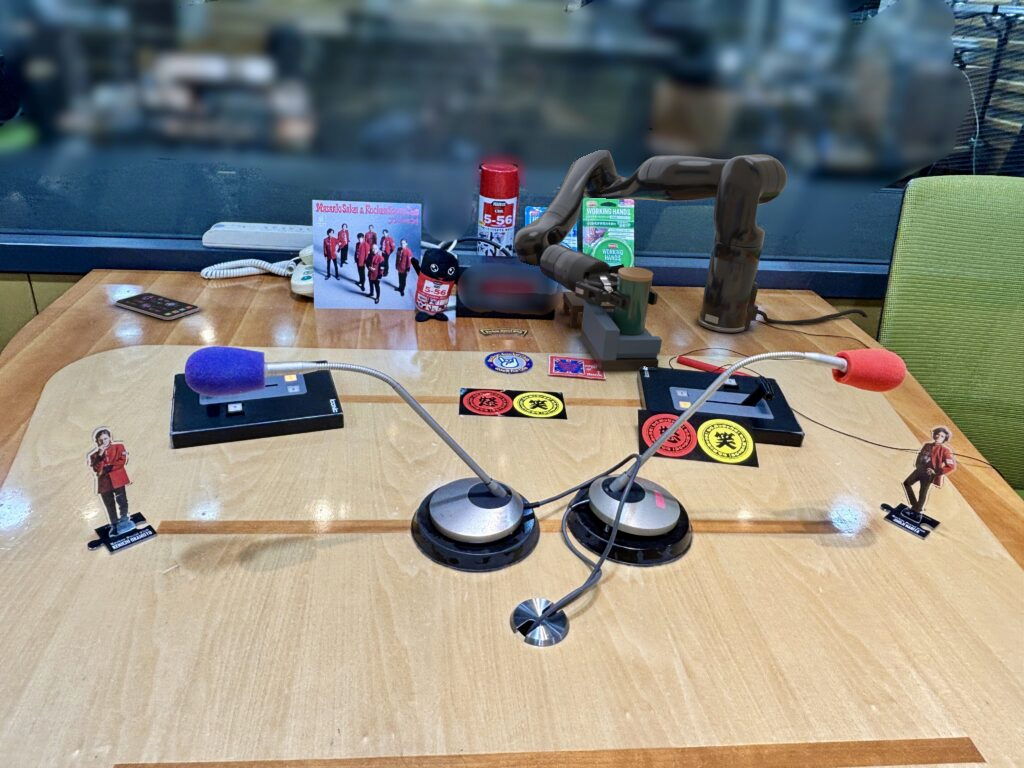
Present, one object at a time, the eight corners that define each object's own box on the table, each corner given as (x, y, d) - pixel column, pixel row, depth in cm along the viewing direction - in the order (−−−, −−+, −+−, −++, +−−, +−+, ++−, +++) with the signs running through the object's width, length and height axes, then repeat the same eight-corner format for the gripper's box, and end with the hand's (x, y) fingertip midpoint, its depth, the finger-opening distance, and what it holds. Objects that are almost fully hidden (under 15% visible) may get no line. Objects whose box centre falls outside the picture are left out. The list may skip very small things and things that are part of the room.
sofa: (631, 337, 136) (636, 300, 133) (657, 370, 123) (663, 330, 120) (580, 337, 135) (584, 299, 131) (600, 371, 121) (605, 330, 118)
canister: (639, 323, 130) (647, 267, 126) (649, 336, 125) (658, 277, 120) (607, 323, 129) (614, 266, 125) (616, 335, 124) (623, 277, 119)
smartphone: (167, 318, 130) (112, 301, 136) (168, 321, 130) (113, 304, 136) (201, 307, 136) (147, 291, 142) (202, 309, 136) (147, 294, 142)
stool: (601, 312, 148) (604, 291, 146) (612, 327, 141) (615, 305, 139) (561, 312, 147) (563, 291, 145) (570, 327, 139) (572, 305, 137)
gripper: (553, 258, 130) (612, 286, 117) (614, 251, 137) (676, 276, 125) (549, 297, 133) (607, 328, 121) (609, 288, 140) (669, 316, 128)
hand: (641, 301), depth 123 cm, fingers closed on canister, 5 cm apart
